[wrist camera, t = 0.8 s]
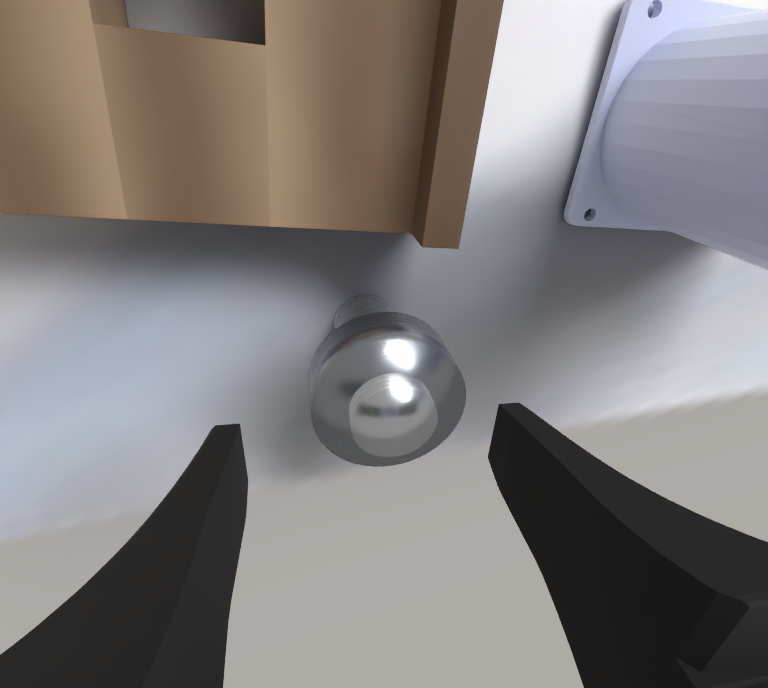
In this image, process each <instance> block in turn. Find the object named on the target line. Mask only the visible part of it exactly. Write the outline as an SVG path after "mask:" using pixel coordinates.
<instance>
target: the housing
mask: <svg viewBox="0 0 768 688" xmlns="http://www.w3.org/2000/svg"><path fill="white" fill-rule="evenodd" d="M503 2H504V0H265V41H266V45H259V44H251V43H243V42H235V41H227V40H219V39H211V38H203V37H195V36H187V35H180V34H172V33H164V32H156V31H148V30H140V29H132V28H128V21H127V14H126V7H125V0H0V213H8V214H28V215H48V216H68V217H89V218H109V219H129V220H149V221H169V222H189V223H209V224H229V225H250V226H270V227H290V228H310V229H330V230H350V231H370V232H390V233H410V234H412V235H413V236H414V237H415V239H416V240H417V241H418V242H419V244H420V245H421V246H422V247H429V248H452V249H458V248H459V243H460V237H461V232H462V226H463V221H464V215H465V210H466V205H467V199H468V194H469V188H470V183H471V177H472V172H473V166H474V161H475V155H476V150H477V144H478V139H479V133H480V128H481V122H482V117H483V111H484V106H485V100H486V95H487V89H488V84H489V78H490V73H491V67H492V62H493V56H494V51H495V45H496V40H497V34H498V29H499V23H500V18H501V12H502V7H503Z"/></svg>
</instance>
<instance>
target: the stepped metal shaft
mask: <svg viewBox="0 0 768 688" xmlns="http://www.w3.org/2000/svg"><path fill="white" fill-rule="evenodd" d="M309 380H310V398H311V415H312V422H313V427H314V429H315V432H316V434H317V436H318V437H319V439H320V441H321V442H322V443H323V444H324V445H325V447H326V448H327V449H329V450H330V451H331V452H332V453H334V454H335V455H337V456H338V457H340V458H342V459H344V460H346V461H349V462H352V463H355V464H360V465H364V466H391V465H397V464H402V463H405V462H408V461H411V460H414V459H416V458H419V457H421V456H423V455H425V454H426V453H428V452H430V451H431V450H433V449H434V448H436V447H437V446H438V445H439V444H441V443H442V442H443V441H444V440H445V439H446V438H447V437H448V436H449V435H450V433H451V432H452V431H453V430H454V428H455V427H456V425H457V424H458V422H459V420H460V418H461V415H462V413H463V410H464V406H465V400H466V389H465V383H464V380H463V377H462V374H461V373H460V371H459V369H458V367H457V365H456V364H455V362H454V360H453V359H452V357H451V355H450V353H449V352H448V350H447V348H446V346H445V345H444V343H443V341H442V339H441V338H440V337H439V335H438V334H437V333H436V331H435V330H433V329H432V328H431V327H430V326H429V325H428V324H426V323H425V322H423V321H422V320H420V319H418V318H416V317H413V316H410V315H407V314H403V313H398V312H394V311H393V309H392V307H391V306H390V305H389V304H388V303H387V302H386V301H385V300H384V299H382V298H380V297H377V296H373V295H360V296H356V297H353V298H351V299H349V300H348V301H346V302H345V303H344V304H343V305H342V306H341V307H340V308H339V309H338V311H337V313H336V315H335V318H334V331H332V332H331V333H330V334H329V335H328V336H327V337H326V338H325V339H324V341H323V342H322V343H321V344H320V346H319V347H318V349H317V351H316V352H315V355H314V357H313V359H312V363H311V367H310V374H309Z"/></svg>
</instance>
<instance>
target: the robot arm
mask: <svg viewBox="0 0 768 688" xmlns="http://www.w3.org/2000/svg"><path fill="white" fill-rule="evenodd" d="M651 2H652V3H653V5H654V12H653V14H652V16H651V17H649V16H648V7H649V5H650V3H651ZM588 209H591V212H590V215H589V216H588V217H587V218H584V214H585V212H586V211H587V210H588ZM564 219H565V221H566V222H567V223H569V224H571V225H574V226H588V227H605V228H623V229H640V230H658V231H670V232H673V233H675V234H678V235H680V236H683V237H685V238H688V239H690V240H693V241H695V242H698V243H700V244H703V245H706V246H708V247H711V248H713V249H716V250H718V251H721V252H723V253H726V254H728V255H731V256H733V257H736V258H738V259H741V260H743V261H746V262H748V263H751V264H754V265H756V266H759V267H761V268H764V269H766V270H768V9H764V10H761V9H755V8H750V7H744V6H739V5H733V4H728V3H722V2H716V1H711V0H626V1H625V3H624V5H623V8H622V12H621V15H620V19H619V22H618V26H617V29H616V33H615V36H614V39H613V43H612V46H611V50H610V53H609V57H608V60H607V64H606V67H605V71H604V74H603V78H602V81H601V85H600V88H599V92H598V95H597V99H596V102H595V106H594V109H593V113H592V116H591V120H590V123H589V127H588V130H587V134H586V137H585V141H584V144H583V148H582V151H581V155H580V158H579V162H578V165H577V169H576V172H575V176H574V179H573V182H572V186H571V189H570V193H569V196H568V200H567V203H566V207H565V210H564ZM488 459H489V462H490V465H491V468H492V471H493V473H494V476H495V479H496V482H497V485H498V487H499V490H500V492H501V494H502V496H503V498H504V500H505V502H506V504H507V506H508V508H509V510H510V512H511V514H512V516H513V517H514V519H515V521H516V523H517V525H518V527H519V529H520V531H521V533H522V535H523V537H524V539H525V540H526V542H527V544H528V546H529V548H530V550H531V552H532V554H533V556H534V558H535V560H536V562H537V564H538V566H539V568H540V571H541V573H542V575H543V577H544V580H545V582H546V585H547V587H548V590H549V592H550V595H551V597H552V600H553V602H554V605H555V607H556V610H557V613H558V615H559V618H560V621H561V624H562V626H563V629H564V632H565V634H566V637H567V640H568V642H569V645H570V648H571V651H572V654H573V657H574V659H575V662H576V665H577V668H578V671H579V674H580V677H581V680H582V683H583V686H584V688H768V542H766V541H763V540H760V539H757V538H755V537H752V536H749V535H747V534H744V533H742V532H739V531H737V530H735V529H732V528H729V527H727V526H725V525H722V524H720V523H718V522H715V521H713V520H711V519H708V518H706V517H704V516H701V515H699V514H697V513H695V512H693V511H691V510H689V509H687V508H684V507H682V506H680V505H678V504H676V503H674V502H672V501H670V500H668V499H666V498H664V497H662V496H660V495H658V494H656V493H655V492H653V491H651V490H649V489H647V488H646V487H644V486H642V485H640V484H638V483H637V482H635V481H633V480H631V479H629V478H628V477H626V476H624V475H623V474H621V473H619V472H618V471H616V470H615V469H613V468H611V467H610V466H608V465H607V464H605V463H604V462H602V461H601V460H599V459H597V458H596V457H594V456H593V455H591V454H590V453H589V452H587V451H586V450H584V449H583V448H581V447H580V446H578V445H577V444H575V443H574V442H573V441H571V440H570V439H569V438H567V437H566V436H564V435H563V434H562V433H560V432H559V431H558V430H556V429H555V428H553V427H552V426H551V425H549V424H548V423H547V422H545V421H544V420H543V419H541V418H540V417H539V416H537V415H536V414H534V413H533V412H532V411H530V410H529V409H527V408H526V407H525V406H523V405H522V404H520V403H508V404H499V406H498V411H497V416H496V421H495V425H494V430H493V435H492V440H491V445H490V449H489V454H488ZM247 492H248V476H247V469H246V463H245V456H244V449H243V443H242V436H241V429H240V424H230V425H217V426H215V427H213V428H212V429H211V431H210V433H209V434H208V436H207V438H206V439H205V441H204V443H203V444H202V446H201V447H200V449H199V451H198V452H197V454H196V455H195V457H194V458H193V460H192V461H191V463H190V464H189V466H188V467H187V468H186V470H185V471H184V472H183V474H182V475H181V477H180V478H179V479H178V481H177V482H176V484H175V485H174V486H173V488H172V489H171V490H170V492H169V493H168V494H167V496H166V497H165V498H164V499H163V501H162V502H161V503H160V504H159V505H158V507H157V508H156V509H155V510H154V512H153V513H152V514H151V515H150V517H149V518H148V519H147V520H146V521H145V523H144V524H143V525H142V526H141V527H140V528H139V530H138V531H137V532H136V533H135V534H134V535H133V536H132V537H131V538H130V539H129V541H128V542H127V543H126V544H125V545H124V546H123V547H122V548H121V549H120V550H119V551H118V552H117V553H116V554H115V555H114V556H113V557H112V558H111V559H110V560H109V561H108V562H107V563H106V564H105V565H104V566H103V567H102V568H101V569H100V570H99V571H98V572H97V573H96V574H95V575H94V576H93V577H92V578H91V579H90V580H89V581H88V582H87V583H86V584H85V585H83V586H82V587H81V589H79V590H78V591H77V592H76V593H75V594H74V595H73V596H71V597H70V598H69V599H68V600H67V601H66V602H65V603H63V604H62V605H61V606H60V607H59V608H58V609H56V610H55V611H54V612H53V613H52V614H50V615H49V616H48V617H47V618H46V619H45V620H44V621H42V622H41V623H40V624H39V625H38V626H37V627H35V628H34V629H33V630H32V631H30V632H29V633H28V634H27V635H25V636H24V637H23V638H22V639H20V640H19V641H18V642H17V643H15V644H14V645H13V646H11V647H10V648H9V649H8V650H6V651H5V652H3V653H2V654H1V655H0V688H223V679H224V666H225V653H226V642H227V630H228V619H229V612H230V604H231V598H232V592H233V587H234V582H235V576H236V570H237V565H238V559H239V553H240V548H241V542H242V537H243V531H244V525H245V519H246V508H247Z"/></svg>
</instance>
